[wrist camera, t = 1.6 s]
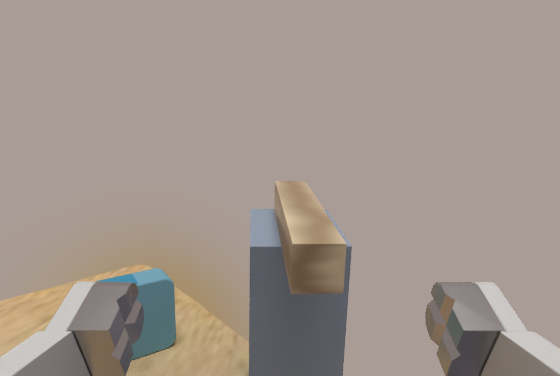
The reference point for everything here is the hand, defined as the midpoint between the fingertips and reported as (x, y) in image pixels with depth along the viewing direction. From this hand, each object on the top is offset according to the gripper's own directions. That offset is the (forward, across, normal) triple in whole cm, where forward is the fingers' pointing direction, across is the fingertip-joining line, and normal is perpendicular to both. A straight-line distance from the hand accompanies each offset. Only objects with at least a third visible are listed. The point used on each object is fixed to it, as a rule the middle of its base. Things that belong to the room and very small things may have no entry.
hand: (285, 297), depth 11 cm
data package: (+30, -23, -45) cm, 59 cm away
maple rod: (+20, +2, -14) cm, 24 cm away
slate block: (+16, +1, -40) cm, 43 cm away
